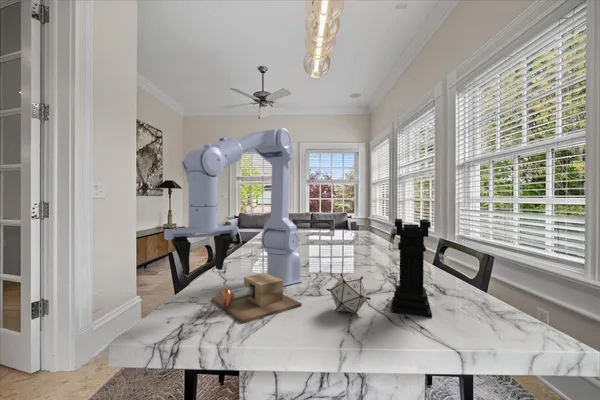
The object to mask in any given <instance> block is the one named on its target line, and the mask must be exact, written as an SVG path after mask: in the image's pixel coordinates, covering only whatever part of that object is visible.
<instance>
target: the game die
mask: <svg viewBox="0 0 600 400" xmlns="http://www.w3.org/2000/svg"><path fill="white" fill-rule="evenodd" d="M363 279H364V276H363V275H362V276H360V278H356V277H349V276H344V275H343V273H342V272H340V278H339V279H338V280H337V282H335V284H333V286H332V287H331V288H326V290H327V292H330V294H331V296H332V299H333V302H334V304H335V307H336V308H335V309H334V312H338V310H340V311H342V312H343V311H344V312H348V313H352V314H354V315H355V317H356V318H358V316H359V314H358V311H360V309H361V308H362V307H363V305H364V304H365V302H366V301H367V300H368V301H370V300H372V298H371V297H370V296H368V295H367V293H366V290H365V288H364V285H363V282H362V280H363Z"/></svg>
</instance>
